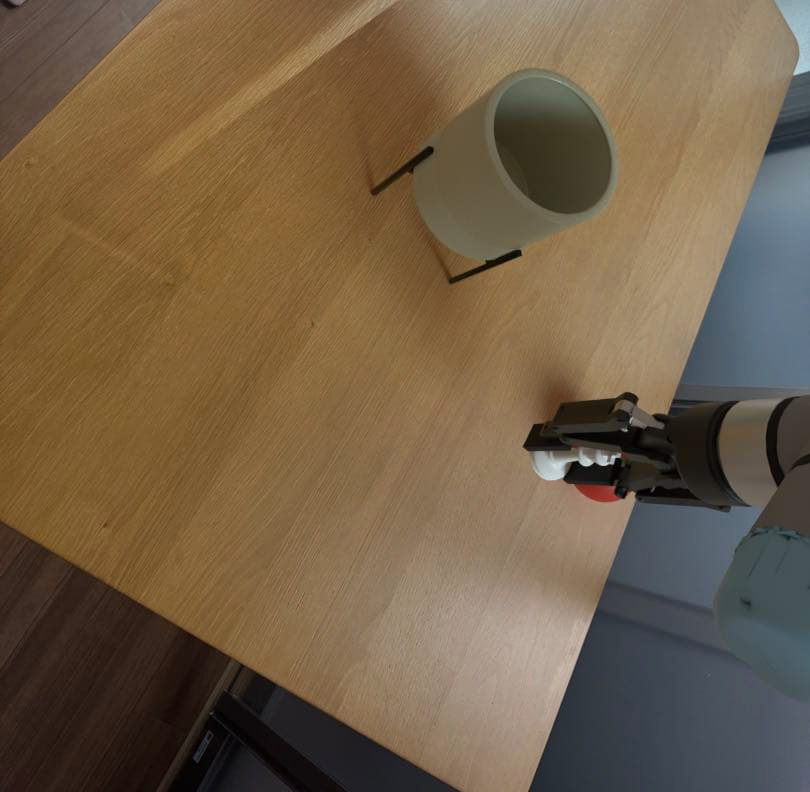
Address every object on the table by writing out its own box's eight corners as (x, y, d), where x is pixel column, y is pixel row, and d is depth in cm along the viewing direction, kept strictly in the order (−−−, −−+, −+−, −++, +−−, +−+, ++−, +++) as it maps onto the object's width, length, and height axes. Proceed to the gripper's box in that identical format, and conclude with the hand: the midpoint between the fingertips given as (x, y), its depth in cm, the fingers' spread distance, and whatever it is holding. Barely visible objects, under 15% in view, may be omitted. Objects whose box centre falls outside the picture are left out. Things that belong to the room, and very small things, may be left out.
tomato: (590, 514, 86) (647, 519, 78) (543, 475, 84) (596, 477, 76) (615, 455, 90) (671, 455, 82) (570, 417, 88) (623, 413, 80)
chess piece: (523, 468, 71) (591, 469, 63) (537, 421, 73) (605, 416, 65) (561, 488, 73) (633, 492, 64) (574, 441, 75) (645, 439, 66)
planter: (512, 222, 91) (647, 156, 71) (437, 306, 83) (566, 257, 64) (433, 129, 89) (549, 35, 70) (349, 205, 81) (454, 123, 62)
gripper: (837, 478, 56) (625, 472, 76) (683, 336, 53) (502, 369, 73) (815, 568, 53) (598, 538, 73) (648, 423, 49) (468, 433, 69)
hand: (551, 453), depth 73 cm, fingers closed on chess piece, 5 cm apart
